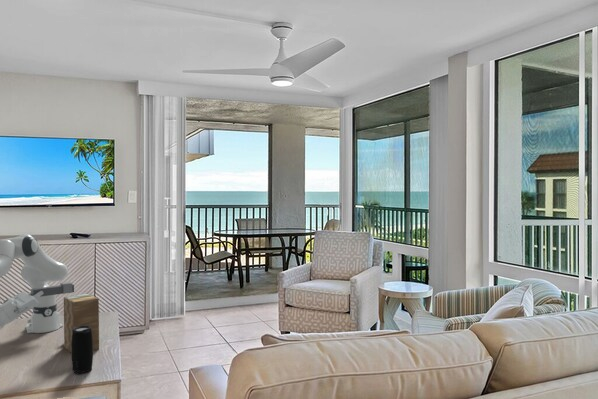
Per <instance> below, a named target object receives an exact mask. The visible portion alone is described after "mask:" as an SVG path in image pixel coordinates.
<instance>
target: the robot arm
mask: <svg viewBox="0 0 598 399" xmlns="http://www.w3.org/2000/svg"><path fill="white" fill-rule="evenodd" d="M16 259H21V260H22V261H23V263H24V265H23V266H22V268H21V270H20V276H21V278H22V279H23V280H24V281H25V282H27V283H28V285H29V286H30V289H34V288H42V287H50V285H49V284H48V283H49V282H53V283H54V282H55V283H56V282H60V281H64V280H65V279H66V278H67V277H68V273H69V270H68V267H67V265H66V264H65V263H62V262H60V261H57V260H55V259H54V258H52V257H51V256H49V254H47V253H46V251H44V249H43V248H42V247H41V245H40V244H39V242H38V240H37V239H36V238H35V237H34V236H32V235H31V234H28V233H21V234H20V235H18V236H16V237H15V236H14V237H9V238H2V239H0V277H3V276H6V275H7V274H8V273H9V272H10V271H11V269H12V268H11V267H12V265H13V262H14V260H16ZM43 294H44V293H43V291H39V292H38V293H37V294H35V295H33V296H31V291H30V292H29V293H28V292H26V291H21V292H19V293H17V294H15V295H14V296H12V297H10V298H9V299H5V300H4V301H3V303H2V304H1V305H0V330H2V329H3V328H4V327H5V326H6V325H8V324H10V323H12V322H14V321H16V319H19V317H21V316H22V314H25V313H27V312H29V311H30V310H32V314H31V316H30V318H28V319H27V324H26V326H25V328H26V333H27V334H33V333H34V334H40V333H41V334H42V333H50V332H54V331H56V330H58V329H60V328H62V327H64V323H61V315H60V312H59V311H57V310H58V305H57V299H56V296H57V295H49V296H42V297H40V296H41V295H43Z"/></svg>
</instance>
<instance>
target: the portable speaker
mask: <svg viewBox="0 0 598 399" xmlns="http://www.w3.org/2000/svg"><path fill="white" fill-rule="evenodd" d="M71 351H72V353H71V365H72V368H71V369H72V371H73V374H75V375H82V374H83V373H85V372H91V371H92V370H93V359H94V351H93V338H92V329H91V327H90V326H88V325H84V326H80V327H77V328H73V331H72V341H71Z"/></svg>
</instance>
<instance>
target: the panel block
mask: <svg viewBox="0 0 598 399" xmlns="http://www.w3.org/2000/svg"><path fill="white" fill-rule="evenodd" d="M99 299H100V298H98V297H96V296H94V295H92V294H90V293H85V294H78V295H71V296H70V295H69V296H65V297H63V337H64V338H63V339H64V340H63V345H64V348H63V349H66V350H67V351H68V352H70V354H72V351H71V341H72V331H73V328H77V327H80V326H84V325H88V326H90V327H91V329H92V338H93V352H94V351H98V350H100V309H99V308H100V304H99Z"/></svg>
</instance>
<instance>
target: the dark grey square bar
mask: <svg viewBox="0 0 598 399" xmlns="http://www.w3.org/2000/svg"><path fill="white" fill-rule="evenodd" d="M49 286H50V285H49ZM39 291H43V293H44V294H43V295H41V296H40V297H42V296H49V295H56V296H57V295H65V294H72V293H75V284H73V282H70V281H66V282H60V284H59V285H52V286H50V287H42V288H34V289H32V288H30V292H31V296H33V295H35V294H37V293H38V292H39Z"/></svg>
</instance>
